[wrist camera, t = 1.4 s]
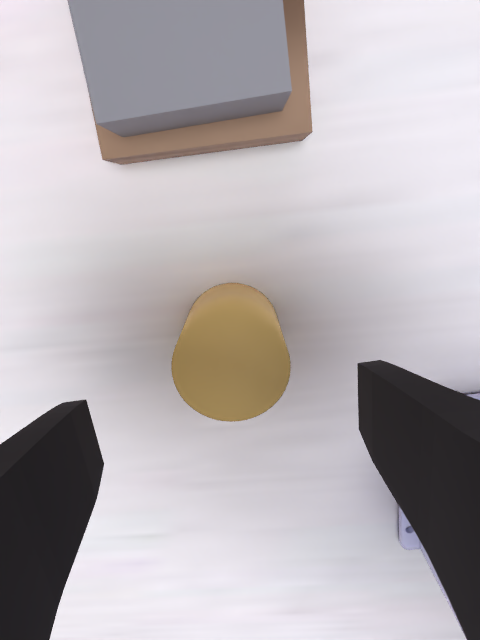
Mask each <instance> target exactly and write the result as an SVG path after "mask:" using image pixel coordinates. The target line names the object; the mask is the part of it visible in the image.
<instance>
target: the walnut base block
mask: <svg viewBox="0 0 480 640" xmlns="http://www.w3.org/2000/svg"><path fill="white" fill-rule="evenodd" d="M283 8H284V18H285V27H286V37H287V47H288V57H289V67H290V76H291V86H292V92H291V94H290V96H289V98H288V100H287V102H286V104H285V106H284V108H283V110H282V111H279V112H273V113H267V114H261V115H255V116H249V117H243V118H237V119H231V120H225V121H219V122H213V123H207V124H201V125H195V126H189V127H183V128H177V129H171V130H165V131H159V132H153V133H147V134H141V135H135V136H129V137H121V136H119V135H117V134H115V133H113V132H111V131H109V130H107V129H105V128H103V127H101V126H100V125H98V124H96V121H95V125H96V130H97V135H98V140H99V145H100V149H101V154H102V159H103V160H106V161H110V162H113V163H117V164H128V163H136V162H143V161H151V160H159V159H166V158H174V157H181V156H189V155H196V154H204V153H212V152H219V151H227V150H234V149H242V148H250V147H257V146H265V145H272V144H280V143H287V142H295V141H302V140H303V139H305V138H306V137H307V136H308V135H309V134H310V133H312V119H311V104H310V88H309V73H308V57H307V42H306V27H305V11H304V0H283ZM87 87H88V86H87ZM88 91H89V90H88ZM89 96H90V95H89ZM90 101H91V99H90ZM91 106H92V103H91ZM92 111H93V108H92ZM93 116H94V112H93ZM94 120H95V116H94Z"/></svg>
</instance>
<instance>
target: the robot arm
mask: <svg viewBox="0 0 480 640" xmlns="http://www.w3.org/2000/svg"><path fill="white" fill-rule="evenodd" d="M358 409H359V430H360V433H361V435H362V438H363V440H364V443H365V445H366V447H367V450H368V452H369V454H370V456H371V459H372V461H373V463H374V464H375V466H376V468H377V470H378V471H379V473H380V475H381V476H382V478H383V480H384V481H385V483H386V485H387V486H388V488H389V490H390V491H391V493H392V495H393V496H394V498H395V500H396V501H397V503H398V505H399V541H400V544H401V546H402V547H403V548H404V549H409V550H411V549H421V551H422V553H423V555H424V557H425V559H426V561H427V563H428V565H429V567H430V569H431V570H432V572H433V574H434V576H435V578H436V580H437V582H438V584H439V586H440V588H441V590H442V592H443V594H444V596H445V598H446V600H447V602H448V604H449V606H450V607H451V609H452V611H453V613H454V615H455V617H456V619H457V621H458V623H459V625H460V627H461V629H462V631H463V633H464V635H465V637H466V639H467V640H480V393H477V394H468V395H464V394H462V393H459V392H457V391H454V390H452V389H449V388H447V387H444V386H442V385H440V384H437V383H435V382H432V381H430V380H428V379H426V378H423V377H421V376H419V375H416V374H414V373H412V372H410V371H407V370H405V369H403V368H400V367H398V366H395V365H393V364H390V363H388V362H385V361H381V360H378V361H371V362H363V363H358ZM103 466H104V462H103V459H102V455H101V451H100V448H99V444H98V441H97V437H96V433H95V430H94V426H93V423H92V419H91V415H90V412H89V408H88V405H87V401H86V400H80V401H72V402H65V403H61V404H60V405H58V406H56V407H54V408H53V409H51V410H49V411H48V412H46V413H45V414H43V415H42V416H40V417H39V418H37V419H36V420H35V421H33V422H32V423H30V424H29V425H27V426H26V427H25V428H23V429H22V430H20V431H19V432H17V433H16V434H15V435H13V436H12V437H10V438H9V439H7V440H6V441H5V442H3V443H2V444H0V640H49V639H50V635H51V631H52V627H53V624H54V620H55V616H56V612H57V609H58V605H59V602H60V599H61V596H62V593H63V590H64V587H65V584H66V581H67V579H68V576H69V573H70V571H71V568H72V565H73V563H74V560H75V557H76V554H77V552H78V549H79V546H80V544H81V541H82V538H83V536H84V533H85V530H86V527H87V525H88V522H89V519H90V516H91V514H92V511H93V508H94V505H95V502H96V499H97V495H98V490H99V486H100V482H101V477H102V471H103ZM408 526H410V527H408ZM407 527H408V528H407Z"/></svg>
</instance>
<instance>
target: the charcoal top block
mask: <svg viewBox="0 0 480 640" xmlns="http://www.w3.org/2000/svg"><path fill="white" fill-rule="evenodd" d="M68 4H69V9H70V13H71V17H72V22H73V26H74V30H75V34H76V39H77V43H78V47H79V52H80V56H81V60H82V65H83V69H84V73H85V78H86V82H87V86H88V90H89V95H90V99H91V103H92V108H93V112H94V116H95V121H96V124H98V125H100V126H101V127H103V128H105V129H107V130H109V131H111V132H113V133H115V134H117V135H119V136H121V137H129V136H135V135H141V134H147V133H153V132H159V131H165V130H171V129H177V128H183V127H189V126H195V125H201V124H207V123H213V122H219V121H225V120H231V119H237V118H243V117H249V116H255V115H261V114H267V113H273V112H279V111H282V110H283V108H284V106H285V104H286V102H287V100H288V98H289V96H290V94H291V92H292V86H291V76H290V67H289V57H288V47H287V37H286V27H285V18H284V8H283V0H68Z"/></svg>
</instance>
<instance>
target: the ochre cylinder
mask: <svg viewBox="0 0 480 640" xmlns="http://www.w3.org/2000/svg"><path fill="white" fill-rule="evenodd" d="M171 369H172V377H173V380H174V384H175V386H176V388H177V390H178V392H179V394H180V396H181V397H182V398H183V399H184V401H185V402H186V403H187V404H188V405H189V406H190V407H192V408H193V409H194V410H195V411H197V412H199V413H200V414H202V415H204V416H207V417H209V418H212V419H216V420H221V421H242V420H247V419H250V418H253V417H256V416H258V415H260V414H262V413H264V412H265V411H267V410H268V409H269V408H271V407H272V406H273V405H274V404H275V403H276V402H277V401H278V400H279V398H280V397H281V396H282V394H283V392H284V391H285V389H286V386H287V384H288V381H289V377H290V357H289V353H288V350H287V347H286V344H285V340H284V337H283V334H282V331H281V328H280V325H279V322H278V319H277V315H276V312H275V310H274V308H273V306H272V304H271V303H270V301H269V300H268V299H267V298H266V297H265V296H264V295H263V294H262V293H261V292H259V291H258V290H256V289H254V288H252V287H250V286H247V285H244V284H239V283H226V284H221V285H218V286H215V287H212V288H210V289H209V290H207V291H206V292H204V293H203V294H202V295H201V296H200V297H199V298H198V299H197V300H196V301H195V303H194V304H193V306H192V308H191V310H190V312H189V315H188V317H187V320H186V322H185V324H184V327H183V329H182V332H181V334H180V337H179V339H178V342H177V344H176V347H175V349H174V352H173V357H172V368H171Z"/></svg>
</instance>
